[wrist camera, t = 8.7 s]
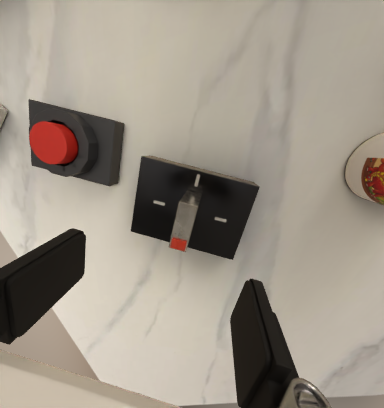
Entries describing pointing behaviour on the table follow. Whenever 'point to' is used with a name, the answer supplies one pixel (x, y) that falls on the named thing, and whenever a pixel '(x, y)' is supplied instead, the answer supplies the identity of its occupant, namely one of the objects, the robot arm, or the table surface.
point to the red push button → (53, 143)
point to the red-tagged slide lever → (184, 220)
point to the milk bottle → (367, 170)
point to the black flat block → (207, 210)
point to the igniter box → (83, 143)
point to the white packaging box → (2, 114)
